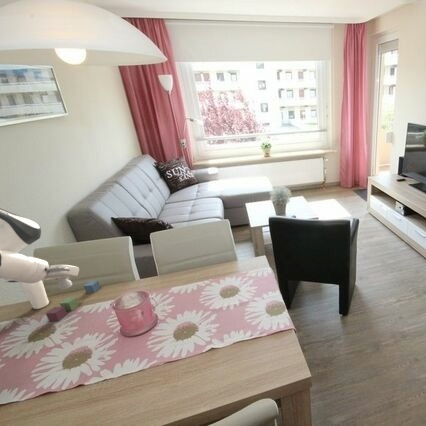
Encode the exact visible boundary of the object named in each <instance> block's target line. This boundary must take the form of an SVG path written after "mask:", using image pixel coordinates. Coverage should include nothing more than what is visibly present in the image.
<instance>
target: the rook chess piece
mask: <svg viewBox="0 0 426 426" xmlns="http://www.w3.org/2000/svg"><path fill="white" fill-rule="evenodd" d="M57 281H58V283H57V287H58V289H59V290H61V291H63V290H67V289H69V288H71V287H72V286H73V282H72V281H71V279H70V278H68V279H63V278H60V279H58V280H57Z"/></svg>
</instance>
